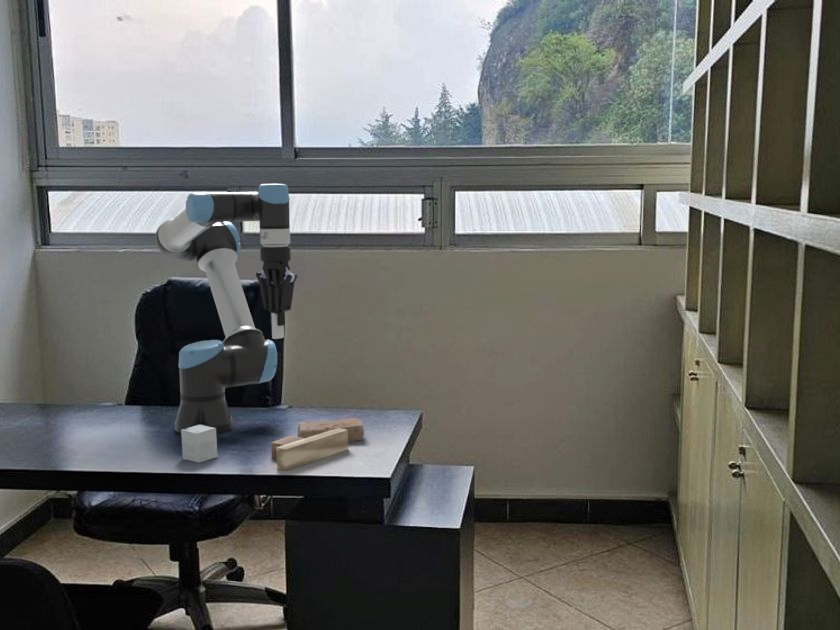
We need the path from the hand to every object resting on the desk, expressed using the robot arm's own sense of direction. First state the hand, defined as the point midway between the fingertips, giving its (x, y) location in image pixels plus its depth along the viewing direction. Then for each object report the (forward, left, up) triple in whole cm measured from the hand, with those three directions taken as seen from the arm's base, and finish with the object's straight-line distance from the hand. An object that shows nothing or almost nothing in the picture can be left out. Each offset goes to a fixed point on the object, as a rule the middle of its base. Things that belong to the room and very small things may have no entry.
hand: (278, 337), depth 227 cm
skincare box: (-3, -24, -27) cm, 36 cm away
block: (+14, -9, -27) cm, 31 cm away
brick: (+11, +7, -27) cm, 30 cm away
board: (+19, -8, -26) cm, 34 cm away
